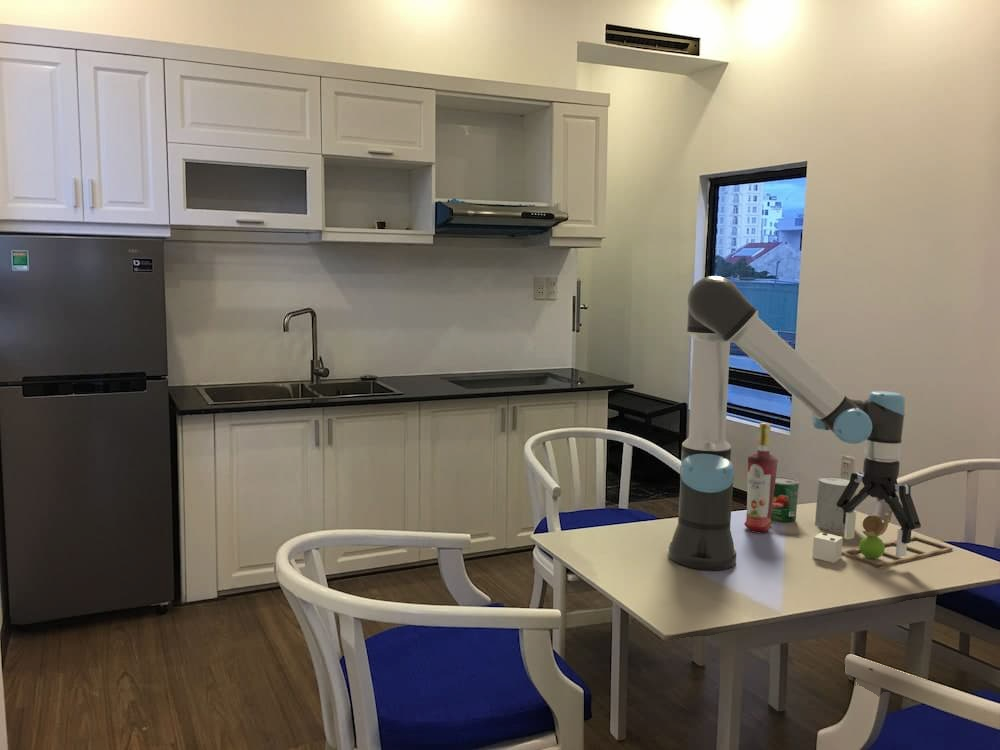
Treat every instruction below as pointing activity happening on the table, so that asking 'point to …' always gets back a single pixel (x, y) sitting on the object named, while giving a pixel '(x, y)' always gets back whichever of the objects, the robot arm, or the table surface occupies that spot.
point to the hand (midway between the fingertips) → (874, 547)
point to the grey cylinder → (830, 503)
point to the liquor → (761, 484)
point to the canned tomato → (784, 501)
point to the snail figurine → (874, 536)
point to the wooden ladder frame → (899, 559)
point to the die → (827, 547)
